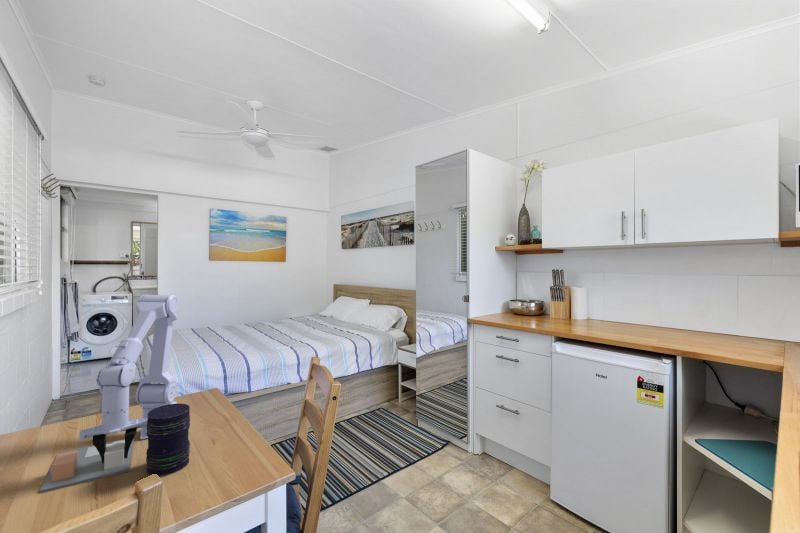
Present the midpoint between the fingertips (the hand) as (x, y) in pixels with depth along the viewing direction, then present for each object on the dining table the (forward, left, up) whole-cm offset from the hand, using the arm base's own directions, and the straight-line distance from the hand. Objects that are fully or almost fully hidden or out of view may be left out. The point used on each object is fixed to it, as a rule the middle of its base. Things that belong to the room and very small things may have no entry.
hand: (115, 459), depth 97 cm
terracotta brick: (+10, 0, -1) cm, 10 cm away
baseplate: (+5, -4, -1) cm, 7 cm away
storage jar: (-12, +8, -2) cm, 15 cm away
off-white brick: (0, 0, -1) cm, 1 cm away
